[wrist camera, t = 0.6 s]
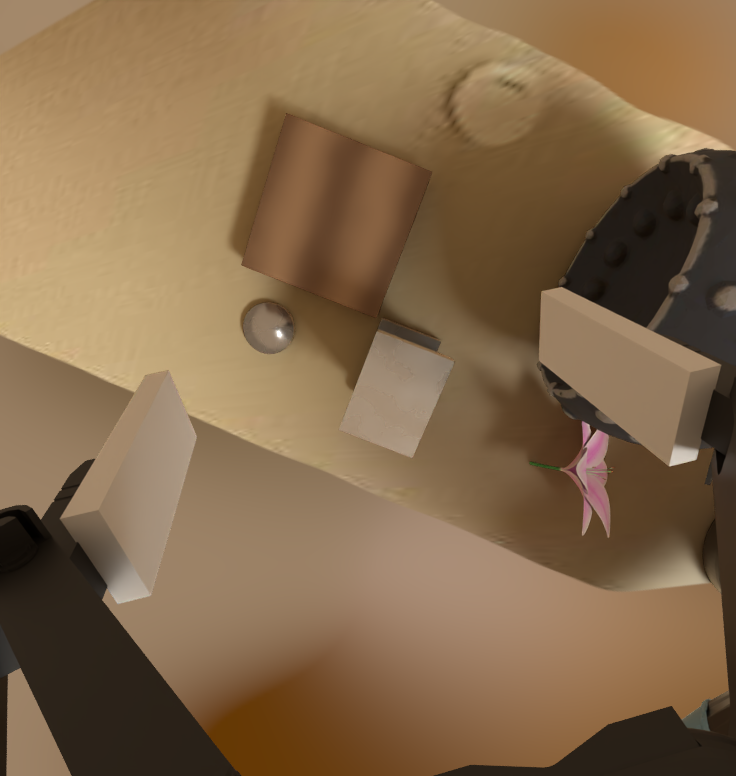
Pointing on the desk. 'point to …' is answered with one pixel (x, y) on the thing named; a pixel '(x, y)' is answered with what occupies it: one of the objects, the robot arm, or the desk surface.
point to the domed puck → (269, 328)
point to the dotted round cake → (663, 264)
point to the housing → (397, 388)
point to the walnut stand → (334, 216)
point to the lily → (590, 476)
